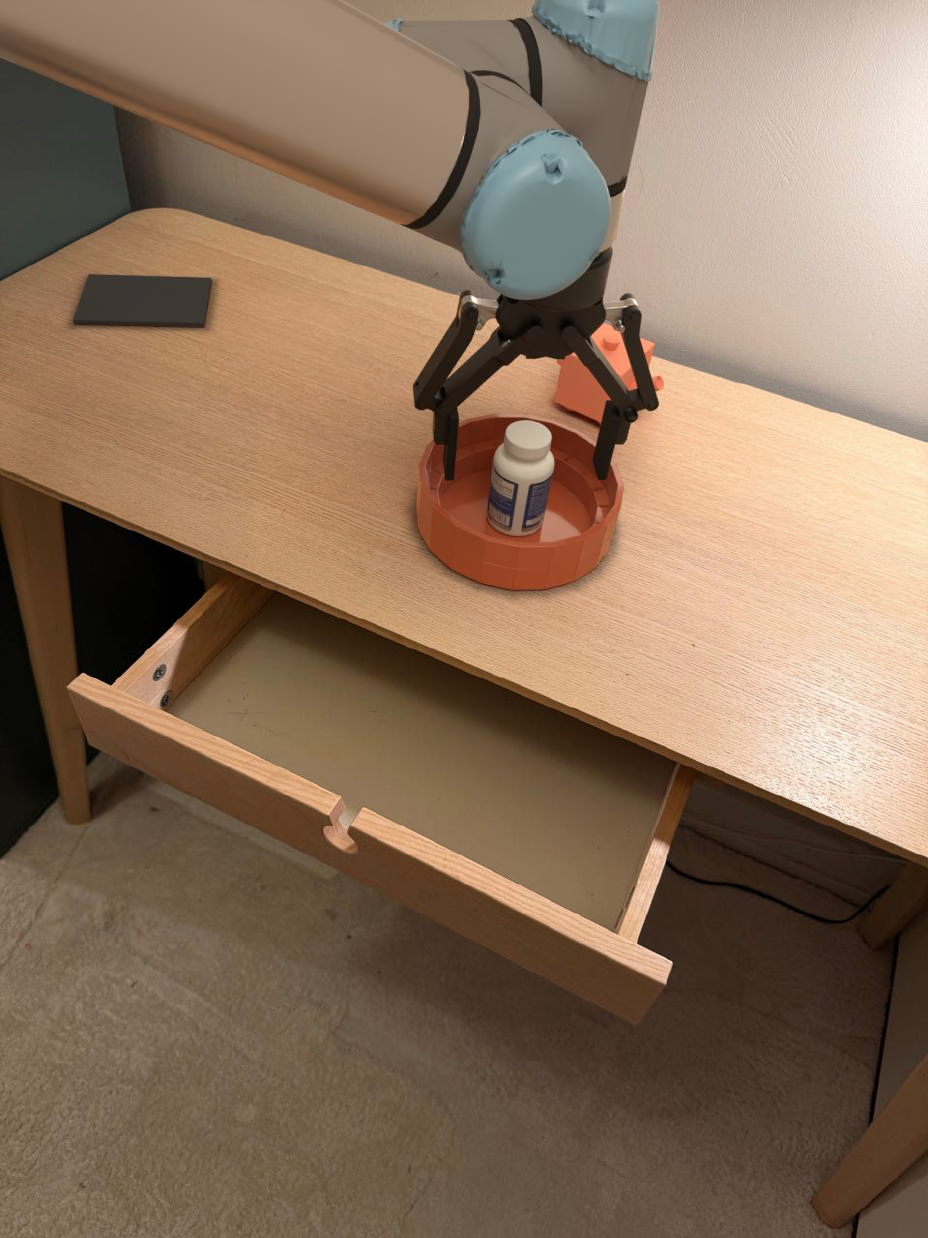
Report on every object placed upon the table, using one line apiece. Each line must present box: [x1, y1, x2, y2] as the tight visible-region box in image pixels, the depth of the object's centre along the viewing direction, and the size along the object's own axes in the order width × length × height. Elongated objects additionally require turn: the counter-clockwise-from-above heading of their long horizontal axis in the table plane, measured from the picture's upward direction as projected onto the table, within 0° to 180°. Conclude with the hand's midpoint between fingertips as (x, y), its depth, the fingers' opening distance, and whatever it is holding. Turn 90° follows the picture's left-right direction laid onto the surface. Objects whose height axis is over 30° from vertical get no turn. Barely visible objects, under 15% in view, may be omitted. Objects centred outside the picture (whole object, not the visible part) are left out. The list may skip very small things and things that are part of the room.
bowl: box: [415, 413, 625, 591], centre depth 83 cm, size 18×18×6 cm
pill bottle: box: [487, 420, 554, 536], centre depth 81 cm, size 5×5×10 cm
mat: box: [72, 273, 213, 328], centre depth 104 cm, size 14×10×1 cm
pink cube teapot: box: [553, 322, 665, 425], centre depth 95 cm, size 8×12×8 cm, turn 56°
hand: (524, 470), depth 81 cm, fingers open, 13 cm apart
